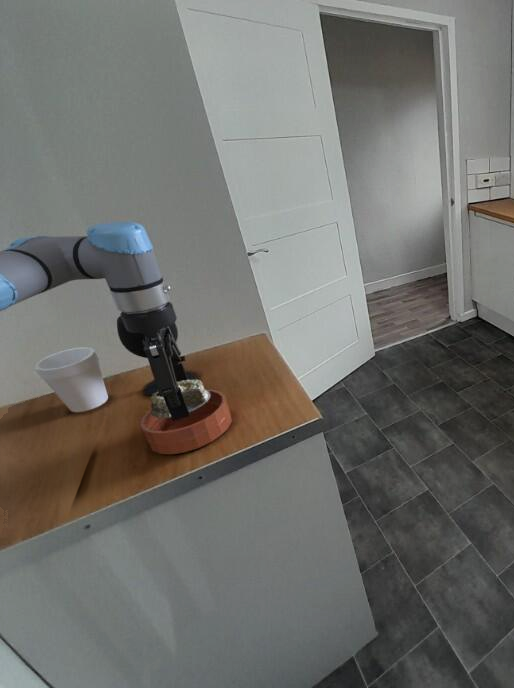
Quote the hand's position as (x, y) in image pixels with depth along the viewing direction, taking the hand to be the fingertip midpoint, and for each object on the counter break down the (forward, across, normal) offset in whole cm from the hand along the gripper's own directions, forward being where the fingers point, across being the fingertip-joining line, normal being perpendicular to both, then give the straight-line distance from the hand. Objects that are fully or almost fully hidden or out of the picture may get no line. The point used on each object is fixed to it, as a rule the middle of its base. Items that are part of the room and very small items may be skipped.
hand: (182, 403), depth 85 cm
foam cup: (+8, +24, +20) cm, 32 cm away
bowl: (+8, 0, 0) cm, 8 cm away
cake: (0, 0, 0) cm, 0 cm away
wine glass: (+8, +24, +5) cm, 26 cm away
